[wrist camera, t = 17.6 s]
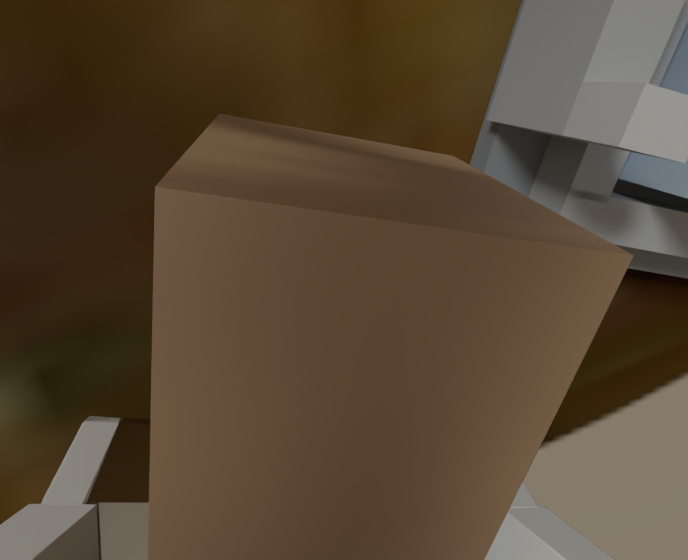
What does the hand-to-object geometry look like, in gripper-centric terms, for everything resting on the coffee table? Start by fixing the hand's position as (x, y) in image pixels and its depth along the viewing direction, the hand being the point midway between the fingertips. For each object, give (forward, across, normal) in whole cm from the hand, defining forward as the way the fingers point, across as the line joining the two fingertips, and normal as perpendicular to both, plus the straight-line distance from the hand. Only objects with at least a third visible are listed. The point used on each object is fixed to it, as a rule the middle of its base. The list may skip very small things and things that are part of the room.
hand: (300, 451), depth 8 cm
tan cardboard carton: (+2, 0, 0) cm, 2 cm away
